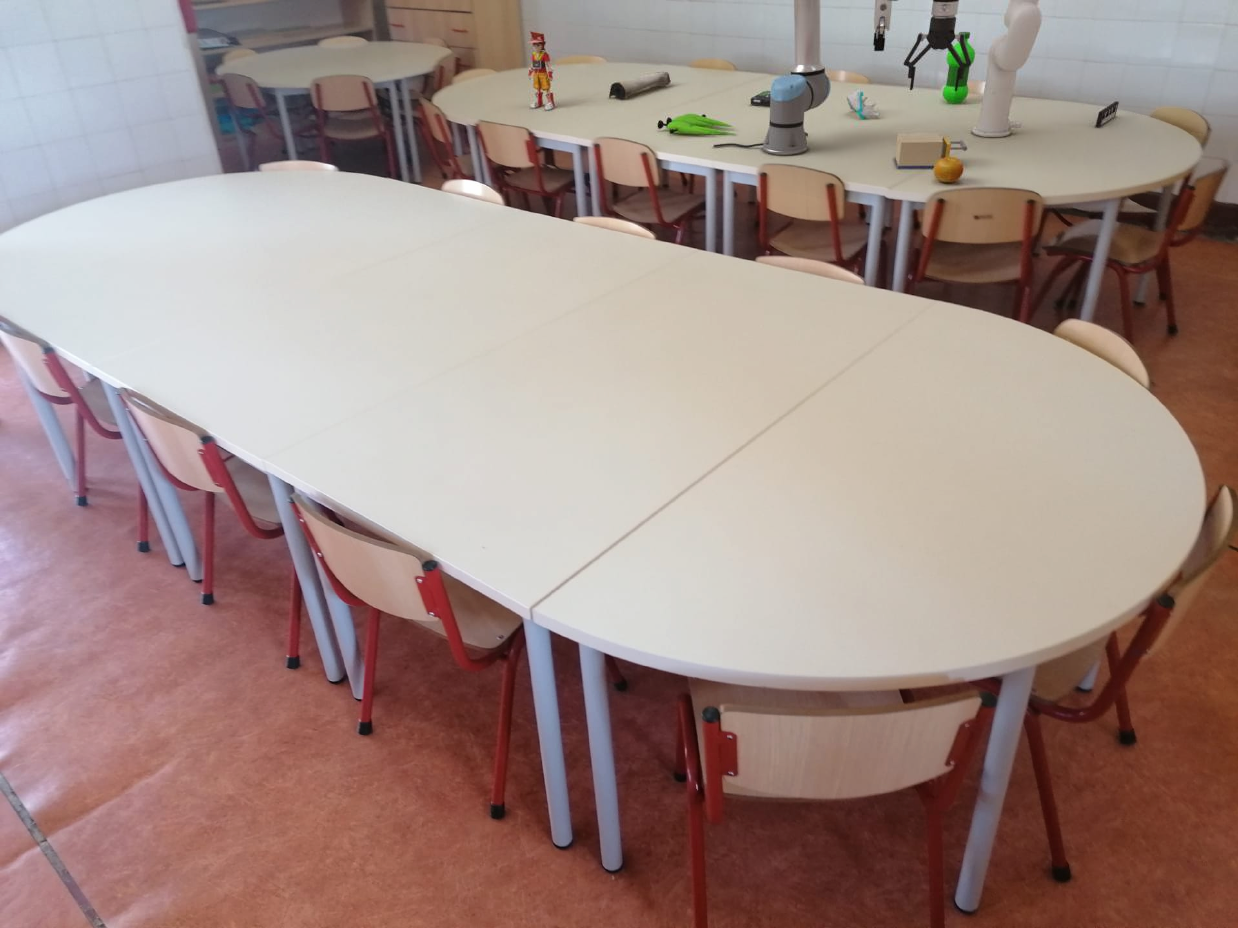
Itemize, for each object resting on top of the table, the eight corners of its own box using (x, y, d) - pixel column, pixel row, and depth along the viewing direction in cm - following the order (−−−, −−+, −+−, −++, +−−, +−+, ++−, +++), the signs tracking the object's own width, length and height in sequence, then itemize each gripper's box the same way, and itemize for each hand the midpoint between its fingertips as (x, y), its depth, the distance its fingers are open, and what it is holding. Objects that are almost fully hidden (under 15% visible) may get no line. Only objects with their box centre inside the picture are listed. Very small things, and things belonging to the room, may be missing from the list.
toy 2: (646, 133, 336) (718, 146, 323) (647, 118, 333) (719, 132, 320) (682, 121, 356) (750, 133, 343) (683, 107, 353) (752, 119, 341)
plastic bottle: (973, 101, 354) (984, 32, 339) (955, 106, 349) (966, 36, 335) (952, 97, 361) (962, 29, 346) (934, 102, 356) (944, 33, 342)
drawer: (960, 156, 294) (963, 136, 291) (965, 164, 287) (968, 144, 283) (906, 156, 297) (909, 136, 293) (910, 165, 289) (912, 144, 286)
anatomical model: (842, 88, 347) (867, 81, 346) (844, 115, 353) (869, 108, 352) (853, 97, 335) (879, 90, 334) (855, 125, 341) (881, 118, 340)
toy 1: (525, 109, 381) (517, 32, 364) (534, 104, 388) (527, 28, 371) (550, 110, 377) (543, 32, 360) (559, 105, 384) (553, 28, 367)
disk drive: (773, 107, 363) (788, 98, 373) (773, 100, 361) (788, 91, 371) (750, 105, 368) (765, 96, 378) (750, 98, 366) (765, 89, 376)
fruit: (927, 172, 273) (945, 149, 270) (928, 175, 281) (945, 152, 278) (950, 188, 272) (968, 164, 269) (951, 190, 280) (968, 167, 277)
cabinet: (934, 158, 297) (938, 132, 292) (939, 168, 288) (943, 141, 283) (894, 159, 299) (897, 133, 294) (898, 168, 290) (901, 142, 285)
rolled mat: (651, 76, 408) (662, 61, 399) (662, 93, 408) (674, 79, 400) (605, 92, 391) (616, 77, 383) (617, 110, 391) (628, 95, 383)
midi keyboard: (1099, 127, 316) (1102, 112, 313) (1095, 126, 316) (1098, 112, 314) (1115, 116, 326) (1119, 101, 323) (1111, 115, 327) (1115, 101, 324)
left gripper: (900, 18, 275) (891, 91, 287) (986, 18, 267) (974, 93, 279) (902, 14, 280) (894, 86, 292) (987, 14, 272) (975, 88, 285)
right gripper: (897, -5, 288) (890, 53, 298) (894, -12, 302) (888, 43, 311) (873, -4, 289) (867, 53, 299) (871, -12, 303) (866, 43, 313)
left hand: (933, 90), depth 286 cm, fingers open, 13 cm apart
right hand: (878, 48), depth 305 cm, fingers open, 9 cm apart
